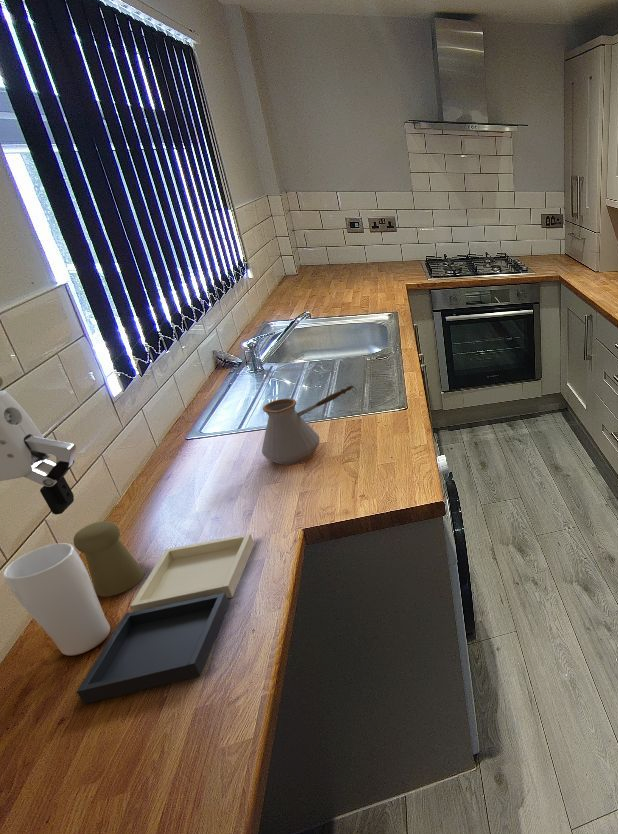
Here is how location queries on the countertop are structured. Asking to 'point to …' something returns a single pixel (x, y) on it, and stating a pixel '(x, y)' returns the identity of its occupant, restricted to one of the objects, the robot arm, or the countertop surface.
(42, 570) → the drinking glass
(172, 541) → the countertop surface
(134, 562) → the cork
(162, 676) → the charcoal tray
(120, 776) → the countertop surface
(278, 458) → the coffee pot
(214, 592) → the cream tray
